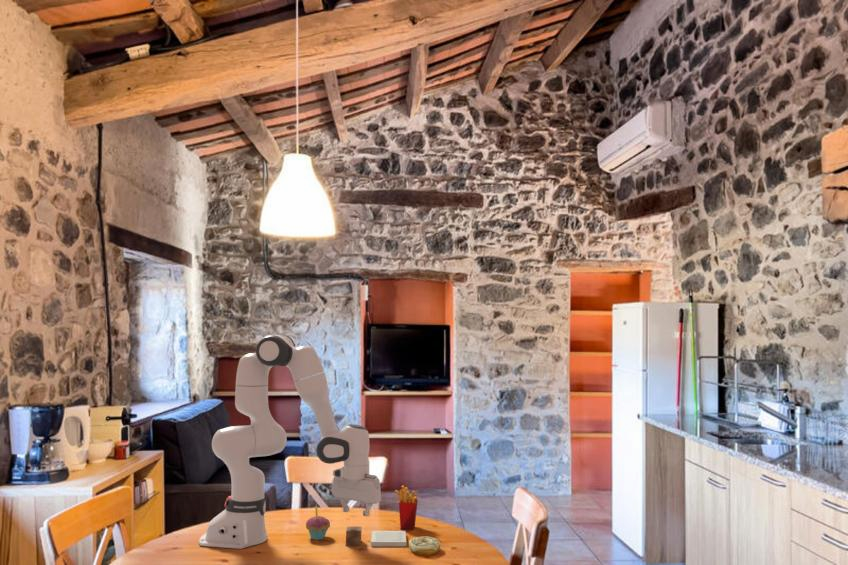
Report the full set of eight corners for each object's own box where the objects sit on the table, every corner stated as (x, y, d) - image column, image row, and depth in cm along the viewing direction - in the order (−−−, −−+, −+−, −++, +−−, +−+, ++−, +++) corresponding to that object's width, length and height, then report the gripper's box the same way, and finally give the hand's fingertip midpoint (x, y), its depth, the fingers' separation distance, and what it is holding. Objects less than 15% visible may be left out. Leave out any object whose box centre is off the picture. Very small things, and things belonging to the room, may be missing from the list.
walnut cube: (345, 546, 222) (346, 530, 222) (346, 541, 227) (347, 526, 227) (360, 546, 222) (360, 531, 223) (361, 541, 227) (361, 526, 228)
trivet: (370, 546, 222) (371, 541, 222) (371, 535, 234) (371, 530, 234) (406, 546, 223) (406, 541, 223) (405, 535, 235) (405, 530, 235)
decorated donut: (409, 557, 213) (409, 545, 214) (408, 545, 224) (408, 534, 224) (441, 556, 214) (441, 544, 214) (438, 545, 225) (438, 534, 225)
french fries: (417, 525, 246) (418, 485, 247) (415, 532, 238) (416, 490, 239) (394, 524, 247) (395, 484, 248) (391, 531, 239) (392, 489, 240)
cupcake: (324, 542, 225) (325, 506, 226) (301, 540, 227) (302, 504, 228) (332, 534, 233) (333, 500, 234) (310, 532, 235) (311, 498, 236)
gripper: (385, 474, 223) (385, 516, 221) (342, 468, 235) (341, 507, 234) (372, 477, 218) (372, 520, 216) (329, 470, 230) (328, 511, 229)
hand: (356, 513), depth 225 cm, fingers open, 8 cm apart
